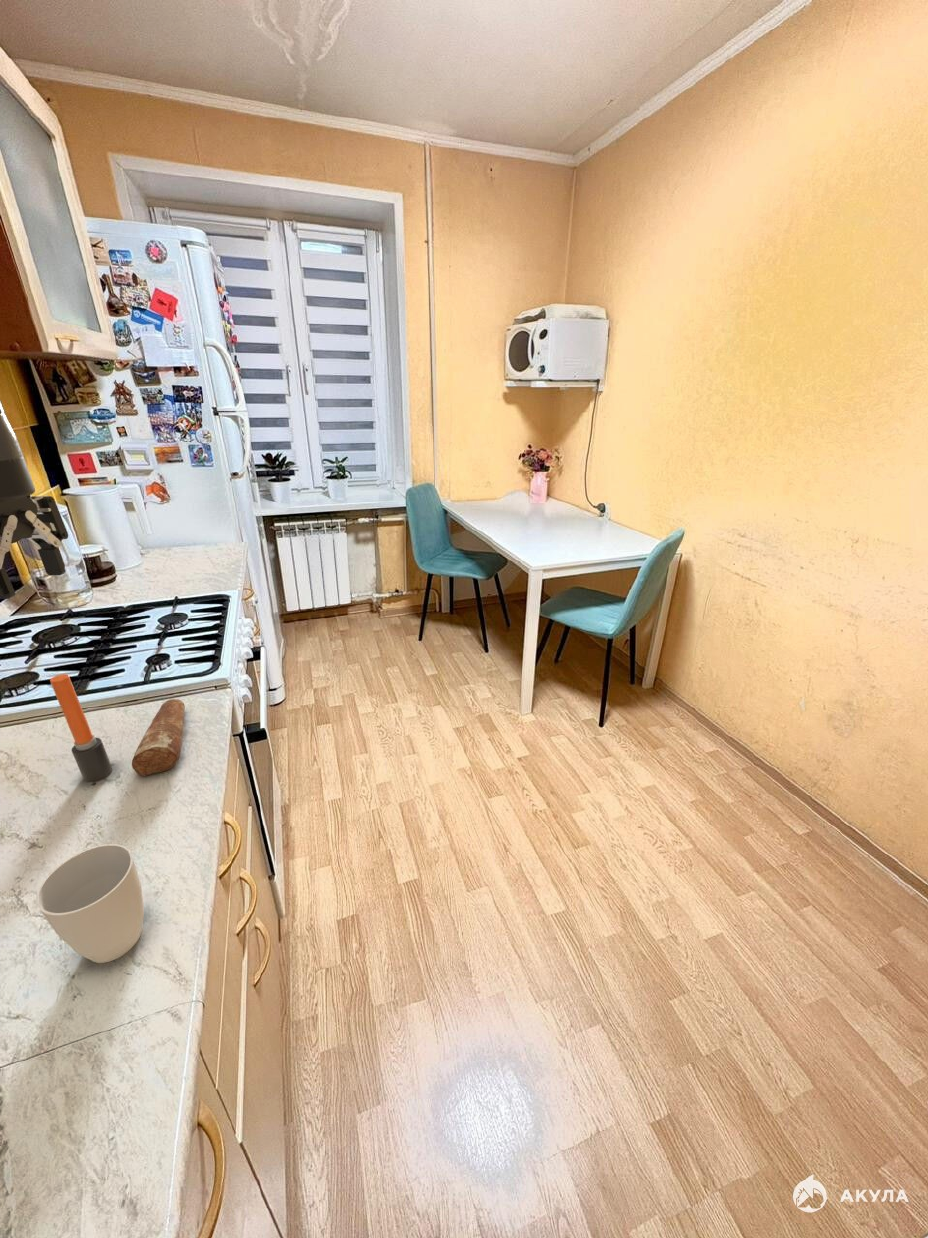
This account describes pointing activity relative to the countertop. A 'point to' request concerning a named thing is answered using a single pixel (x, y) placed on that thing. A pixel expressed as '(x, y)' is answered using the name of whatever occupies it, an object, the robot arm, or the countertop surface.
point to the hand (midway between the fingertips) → (32, 585)
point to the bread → (161, 740)
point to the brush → (81, 733)
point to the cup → (95, 902)
